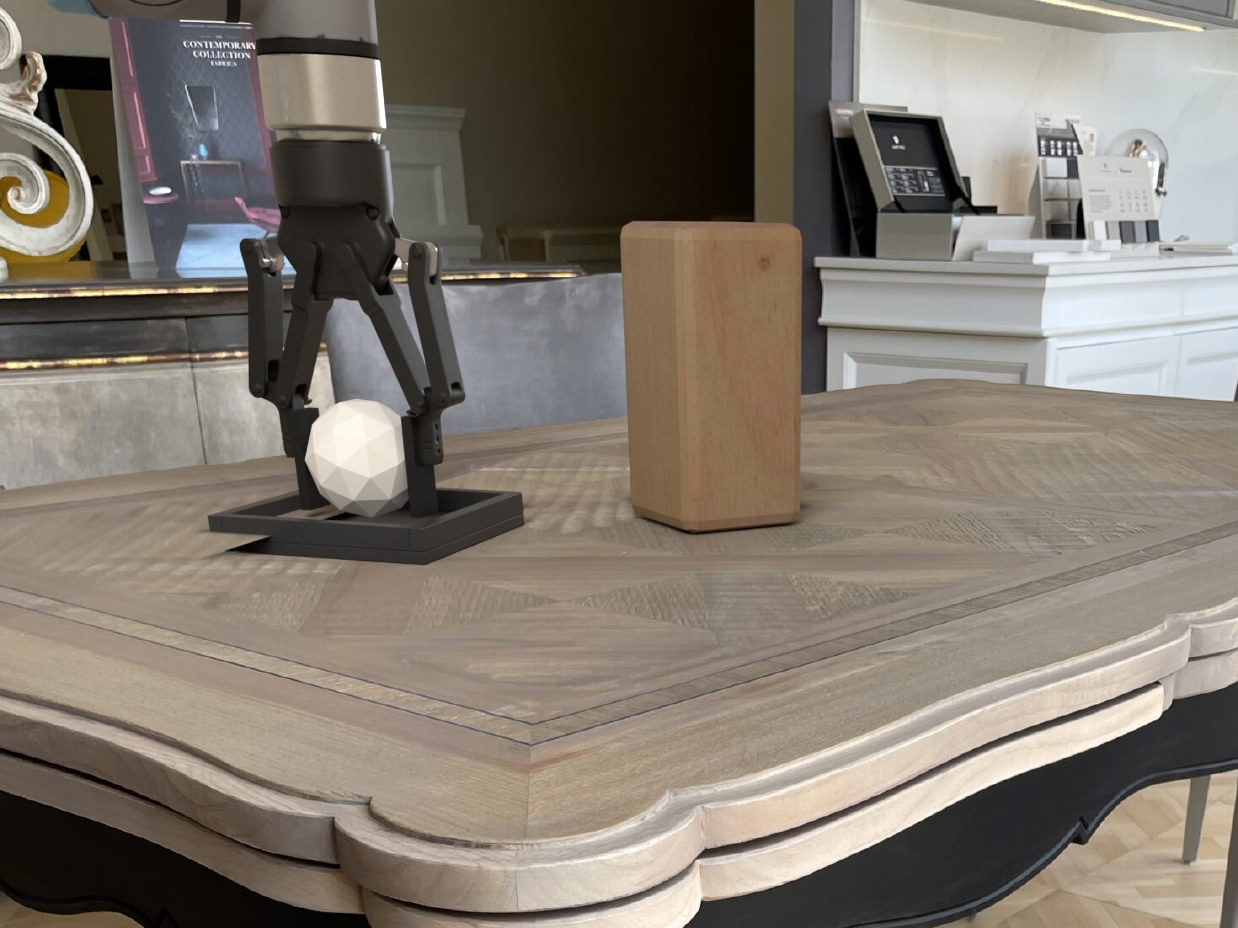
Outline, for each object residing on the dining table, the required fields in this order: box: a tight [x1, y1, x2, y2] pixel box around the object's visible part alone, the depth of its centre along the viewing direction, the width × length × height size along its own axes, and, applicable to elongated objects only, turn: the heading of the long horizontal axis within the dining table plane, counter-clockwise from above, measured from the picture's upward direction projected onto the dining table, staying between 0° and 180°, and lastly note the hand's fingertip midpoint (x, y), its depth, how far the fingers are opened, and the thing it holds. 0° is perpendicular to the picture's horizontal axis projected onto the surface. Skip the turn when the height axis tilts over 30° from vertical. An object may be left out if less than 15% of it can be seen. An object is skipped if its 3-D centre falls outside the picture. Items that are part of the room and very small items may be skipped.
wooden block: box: [619, 220, 803, 534], centre depth 116 cm, size 10×10×20 cm
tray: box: [207, 486, 525, 565], centre depth 113 cm, size 16×16×2 cm
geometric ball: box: [305, 398, 409, 518], centre depth 111 cm, size 8×8×8 cm
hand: (369, 510), depth 113 cm, fingers closed on geometric ball, 8 cm apart
